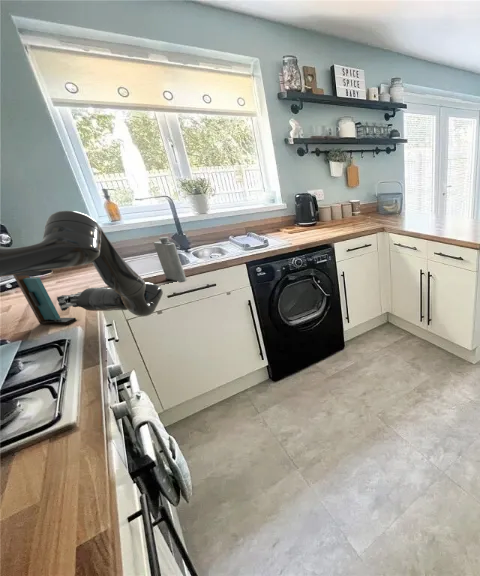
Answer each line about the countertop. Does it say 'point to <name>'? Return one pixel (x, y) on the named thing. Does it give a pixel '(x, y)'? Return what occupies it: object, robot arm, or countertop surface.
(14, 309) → the countertop surface
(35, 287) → the door
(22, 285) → the door frame
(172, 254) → the hip flask
